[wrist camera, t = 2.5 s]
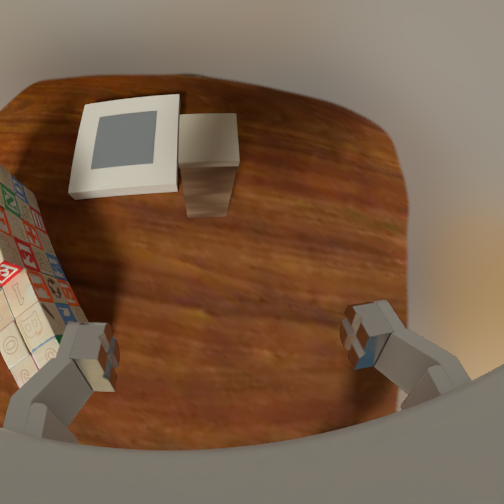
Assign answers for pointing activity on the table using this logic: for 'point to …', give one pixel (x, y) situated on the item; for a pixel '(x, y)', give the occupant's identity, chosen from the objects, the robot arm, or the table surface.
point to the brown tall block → (208, 162)
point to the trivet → (127, 148)
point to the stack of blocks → (30, 285)
